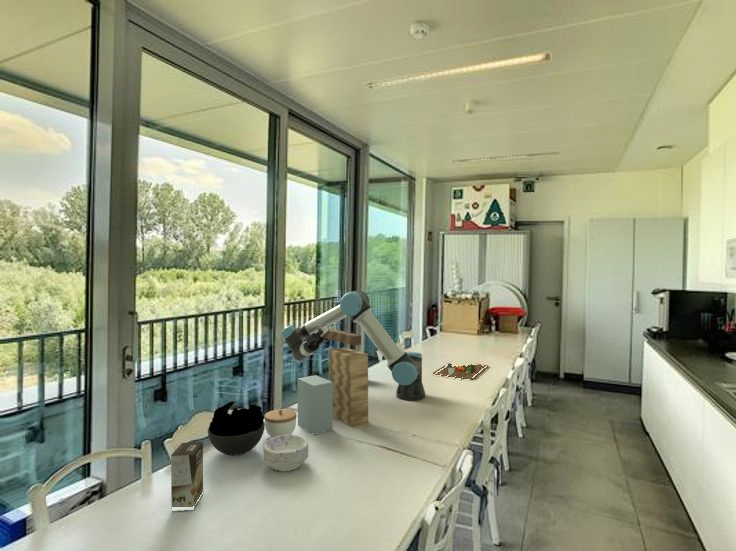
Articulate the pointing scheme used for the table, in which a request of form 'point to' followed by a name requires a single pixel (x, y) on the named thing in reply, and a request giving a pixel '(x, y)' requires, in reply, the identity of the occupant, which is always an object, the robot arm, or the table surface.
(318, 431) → the base block
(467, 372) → the chopping board
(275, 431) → the lidded bowl
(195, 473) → the coffee box
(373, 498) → the table surface
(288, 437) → the paper bowls
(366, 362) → the tall stand
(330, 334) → the walnut block
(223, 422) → the coal bowl
